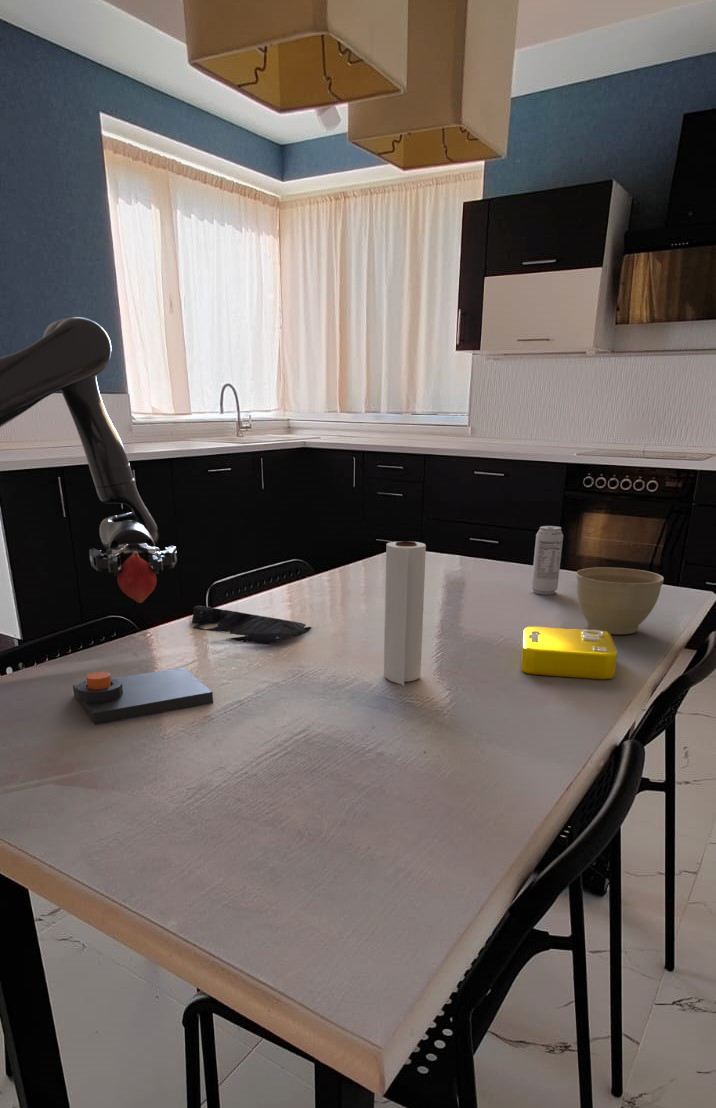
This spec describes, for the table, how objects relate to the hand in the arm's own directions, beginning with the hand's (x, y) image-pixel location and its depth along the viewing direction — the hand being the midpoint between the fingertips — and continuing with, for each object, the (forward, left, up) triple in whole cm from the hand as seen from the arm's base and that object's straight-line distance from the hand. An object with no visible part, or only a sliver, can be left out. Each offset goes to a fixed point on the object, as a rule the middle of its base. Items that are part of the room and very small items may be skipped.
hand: (136, 567), depth 116 cm
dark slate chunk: (+24, +16, -18) cm, 34 cm away
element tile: (+64, -28, -18) cm, 72 cm away
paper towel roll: (+35, -20, -18) cm, 44 cm away
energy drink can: (+99, +15, -18) cm, 102 cm away
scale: (-4, -10, -18) cm, 20 cm away
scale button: (-10, -10, -14) cm, 20 cm away
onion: (+1, +3, -6) cm, 7 cm away
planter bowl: (+88, -16, -18) cm, 92 cm away
